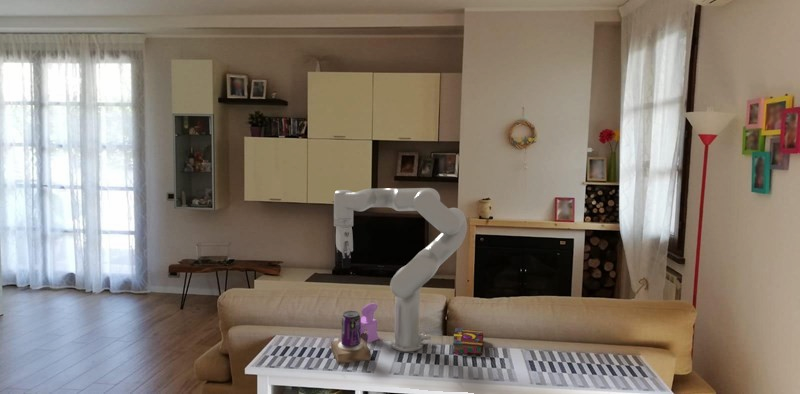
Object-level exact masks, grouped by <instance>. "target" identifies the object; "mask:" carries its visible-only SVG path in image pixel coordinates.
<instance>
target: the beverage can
mask: <svg viewBox="0 0 800 394" xmlns="http://www.w3.org/2000/svg"><path fill="white" fill-rule="evenodd" d="M340 321H341V324H340V325H341V326H340V328H341V330H340V331H341V335H340V336H341V337H340V340H341V343H342V345H344V346H346V347H355V346H357V345H359V344H360V343H361V338H362V337H361V315H360V312H359V311H356V310H347V311H344V312H343V313H342V316H341V320H340Z"/></svg>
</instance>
